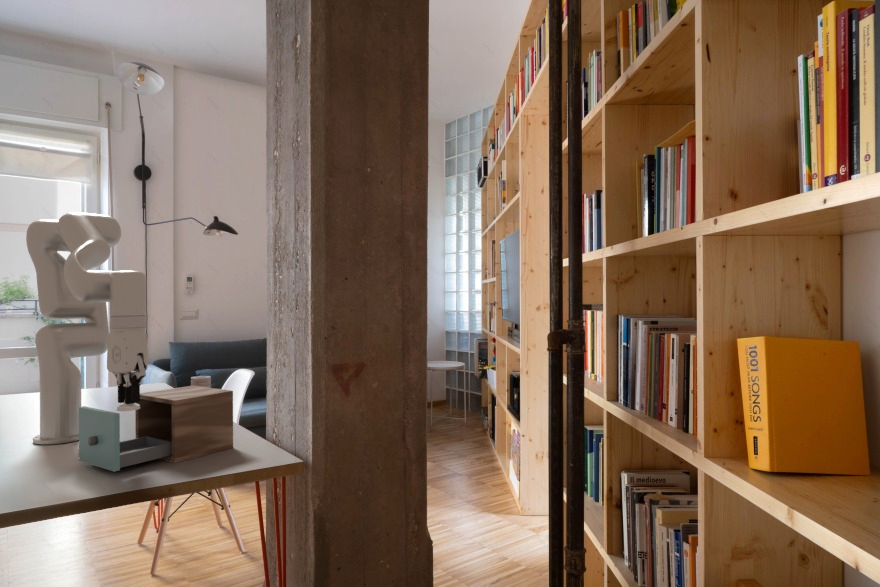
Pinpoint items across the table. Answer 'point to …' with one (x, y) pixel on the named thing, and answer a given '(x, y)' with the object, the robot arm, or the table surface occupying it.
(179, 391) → the cabinet
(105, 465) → the drawer
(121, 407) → the chess piece
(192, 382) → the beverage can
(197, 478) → the table surface
